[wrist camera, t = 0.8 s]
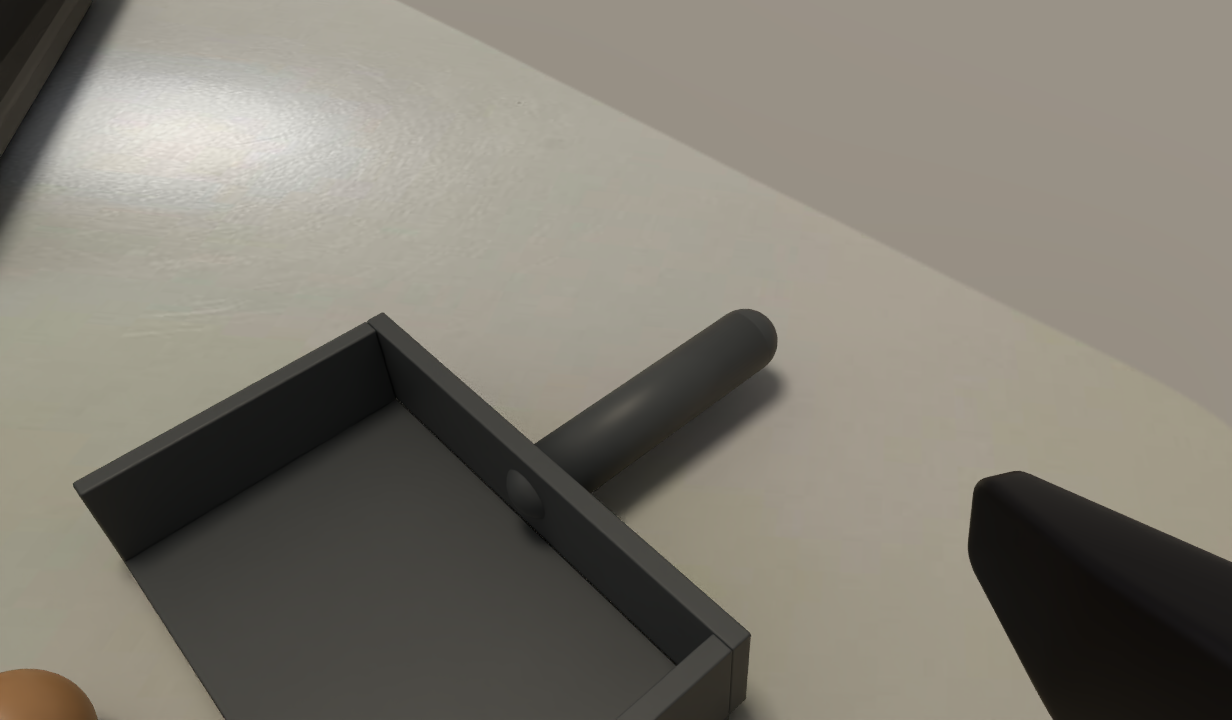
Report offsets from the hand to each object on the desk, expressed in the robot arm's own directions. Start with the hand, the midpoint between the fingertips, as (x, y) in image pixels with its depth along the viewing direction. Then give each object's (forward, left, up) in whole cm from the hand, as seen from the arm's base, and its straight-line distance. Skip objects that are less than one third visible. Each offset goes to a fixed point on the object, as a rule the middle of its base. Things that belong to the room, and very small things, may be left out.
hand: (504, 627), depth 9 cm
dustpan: (+13, +1, -15) cm, 20 cm away
